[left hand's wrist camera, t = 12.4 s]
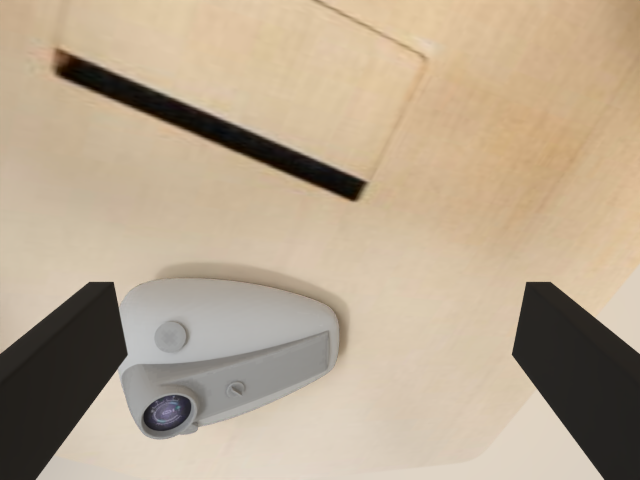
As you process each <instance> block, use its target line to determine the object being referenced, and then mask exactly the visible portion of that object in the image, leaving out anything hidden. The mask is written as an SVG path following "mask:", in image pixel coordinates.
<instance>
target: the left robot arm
mask: <svg viewBox="0 0 640 480" xmlns="http://www.w3.org/2000/svg"><path fill="white" fill-rule="evenodd" d="M127 356H128V352H127V347H126V342H125V337H124V332H123V327H122V322H121V317H120V312H119V307H118V302H117V297H116V292H115V287H114V282H89V283H88V284H86V285H85V286H84V287H83V288H81V289H80V290H79V291H78V292H76V293H75V294H74V295H73V296H72V297H70V298H69V299H68V300H67V301H65V302H64V303H63V304H62V305H60V306H59V307H58V308H57V309H55V310H54V311H53V312H52V313H50V314H49V315H48V316H47V317H46V318H44V319H43V320H42V321H41V322H39V323H38V324H37V325H36V326H34V327H33V328H32V329H31V330H29V331H28V332H27V333H26V334H25V335H23V336H22V337H21V338H20V339H18V340H17V341H16V342H15V343H13V344H12V345H11V346H10V347H8V348H7V349H6V350H5V351H4V352H2V353H1V354H0V480H36V478H37V477H38V476H39V474H40V473H41V472H42V470H43V469H44V468H45V466H46V465H47V464H48V462H49V461H50V459H51V458H52V457H53V455H54V454H55V453H56V451H57V450H58V449H59V447H60V446H61V445H62V443H63V442H64V441H65V439H66V438H67V437H68V435H69V434H70V432H71V431H72V430H73V428H74V427H75V426H76V424H77V423H78V422H79V420H80V419H81V418H82V416H83V415H84V414H85V412H86V411H87V410H88V408H89V407H90V405H91V404H92V403H93V401H94V400H95V399H96V397H97V396H98V395H99V393H100V392H101V391H102V389H103V388H104V387H105V385H106V384H107V383H108V381H109V380H110V378H111V377H112V376H113V374H114V373H115V372H116V370H117V369H118V368H119V366H120V365H121V364H122V362H123V361H124V360H125V358H126V357H127ZM512 356H513V357H514V358H515V360H516V361H517V362H518V364H519V365H520V366H521V368H522V369H523V370H524V372H525V373H526V374H527V376H528V377H529V378H530V380H531V381H532V383H533V384H534V385H535V387H536V388H537V389H538V391H539V392H540V393H541V395H542V396H543V397H544V399H545V400H546V401H547V403H548V404H549V405H550V407H551V408H552V410H553V411H554V412H555V414H556V415H557V416H558V418H559V419H560V420H561V422H562V423H563V424H564V426H565V427H566V428H567V430H568V431H569V432H570V434H571V435H572V437H573V438H574V439H575V441H576V442H577V443H578V445H579V446H580V447H581V449H582V450H583V451H584V453H585V454H586V455H587V457H588V458H589V460H590V461H591V462H592V464H593V465H594V466H595V468H596V469H597V470H598V472H599V473H600V474H601V476H602V477H603V478H604V480H640V354H639V353H638V352H636V351H635V350H634V349H633V348H632V347H630V346H629V345H628V344H627V343H625V342H624V341H623V340H622V339H620V338H619V337H618V336H617V335H615V334H614V333H613V332H612V331H611V330H609V329H608V328H607V327H605V326H604V325H603V324H602V323H601V322H599V321H598V320H597V319H596V318H594V317H593V316H592V315H591V314H590V313H588V312H587V311H586V310H585V309H583V308H582V307H581V306H580V305H578V304H577V303H576V302H575V301H573V300H572V299H571V298H570V297H568V296H567V295H566V294H565V293H564V292H562V291H561V290H560V289H559V288H557V287H556V286H555V285H554V284H552V283H551V282H526V287H525V292H524V297H523V302H522V307H521V312H520V317H519V322H518V327H517V332H516V337H515V342H514V347H513V352H512Z"/></svg>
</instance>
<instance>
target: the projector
mask: <svg viewBox="0 0 640 480" xmlns="http://www.w3.org/2000/svg"><path fill="white" fill-rule="evenodd" d="M119 312H120V317H121V322H122V327H123V332H124V337H125V342H126V347H127V352H128V356H127V357H126V358H125V360H124V361H123V362H122V364H121V365H120V366H119V368H118V372H119V377H120V381H121V385H122V388H123V391H124V394H125V397H126V400H127V404H128V407H129V410H130V412H131V415H132V417H133V419H134V421H135V423H136V424H137V426H138V427H139V429H140V430H141V432H142V433H143V434H144V435H146V436H147V437H149V438H153V439H168V438H171V437H174V436H177V435H179V434H191V433H194V432H196V431H197V430H198V427H201V426H205V425H210V424H214V423H217V422H221V421H224V420H227V419H230V418H233V417H236V416H239V415H242V414H244V413H247V412H250V411H252V410H255V409H257V408H260V407H262V406H264V405H267V404H269V403H271V402H273V401H276V400H278V399H280V398H282V397H284V396H286V395H288V394H290V393H292V392H294V391H296V390H298V389H300V388H302V387H304V386H306V385H308V384H310V383H312V382H314V381H315V380H317V379H319V378H321V377H322V376H324V375H326V374H327V373H328V372H329V371H331V370H332V368H333V367H334V365H335V363H336V360H337V356H338V350H339V324H338V319H337V317H336V315H335V313H334V311H333V310H332V309H331V308H330V307H329V306H327V305H326V304H324V303H321V302H319V301H317V300H314V299H311V298H308V297H305V296H302V295H299V294H295V293H292V292H289V291H285V290H281V289H277V288H272V287H268V286H263V285H258V284H252V283H245V282H238V281H230V280H219V279H204V278H169V279H159V280H153V281H149V282H145V283H142V284H140V285H138V286H136V287H134V288H133V289H132V290H130V291H129V292H128V293H127V295H126V296H125V297H124V299H123V301H122V303H121V305H120V307H119Z"/></svg>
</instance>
